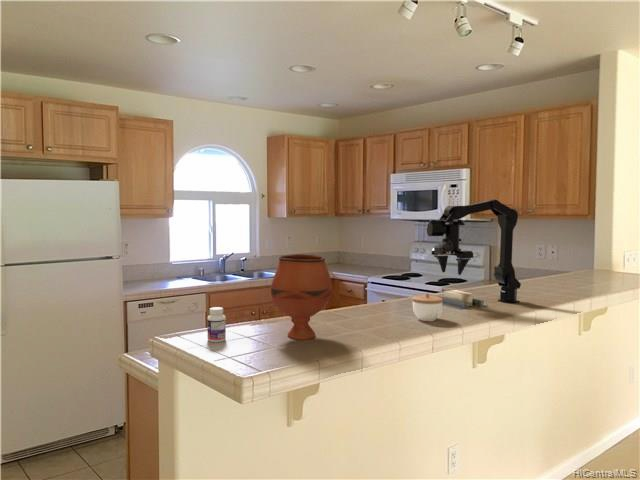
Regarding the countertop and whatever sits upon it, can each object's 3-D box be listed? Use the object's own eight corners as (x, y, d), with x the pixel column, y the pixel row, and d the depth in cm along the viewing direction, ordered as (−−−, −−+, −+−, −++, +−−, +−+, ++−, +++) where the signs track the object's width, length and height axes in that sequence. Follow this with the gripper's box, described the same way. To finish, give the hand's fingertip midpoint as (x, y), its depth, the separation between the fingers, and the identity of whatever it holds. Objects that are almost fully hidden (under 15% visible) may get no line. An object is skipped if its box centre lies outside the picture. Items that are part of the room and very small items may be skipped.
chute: (460, 299, 224) (460, 293, 224) (487, 305, 210) (488, 299, 210) (432, 302, 217) (432, 296, 217) (459, 309, 203) (459, 303, 203)
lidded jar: (424, 323, 178) (425, 297, 177) (405, 317, 187) (406, 292, 187) (448, 320, 183) (449, 294, 182) (429, 315, 192) (429, 290, 191)
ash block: (455, 301, 220) (455, 290, 220) (472, 305, 211) (472, 293, 211) (444, 302, 218) (444, 291, 217) (461, 307, 209) (461, 294, 208)
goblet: (282, 347, 147) (283, 260, 146) (262, 331, 165) (262, 254, 163) (342, 340, 155) (343, 258, 153) (317, 326, 172) (318, 252, 171)
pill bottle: (208, 337, 157) (208, 306, 156) (226, 337, 157) (226, 306, 156) (206, 342, 151) (206, 310, 151) (224, 342, 152) (224, 310, 151)
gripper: (422, 235, 216) (421, 272, 218) (454, 238, 200) (453, 277, 202) (441, 234, 222) (441, 270, 223) (474, 237, 206) (473, 275, 207)
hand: (451, 273), depth 214 cm, fingers open, 9 cm apart
